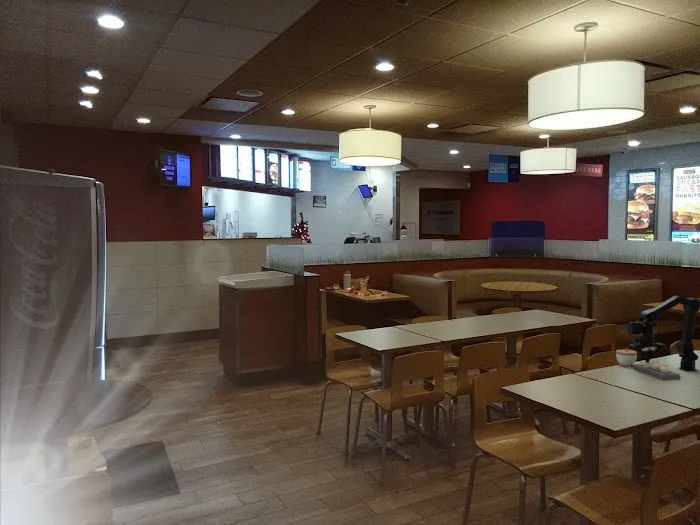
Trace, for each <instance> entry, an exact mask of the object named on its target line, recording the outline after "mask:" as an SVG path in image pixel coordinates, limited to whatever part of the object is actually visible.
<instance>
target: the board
mask: <svg viewBox="0 0 700 525" xmlns="http://www.w3.org/2000/svg"><path fill="white" fill-rule="evenodd" d="M632 369H633V370H635V371H638V372H641V373H643V374H646V375H648V376H651V377H653V378H656V379H658V380H660V381H671V380H672V381H673V380H681V377H680V375H681V374H680V373H677V372H674V371H672V370H669V374H663V373H660V370H652V369H651V367H644V366H643V363H634V364H633V365H632Z"/></svg>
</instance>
